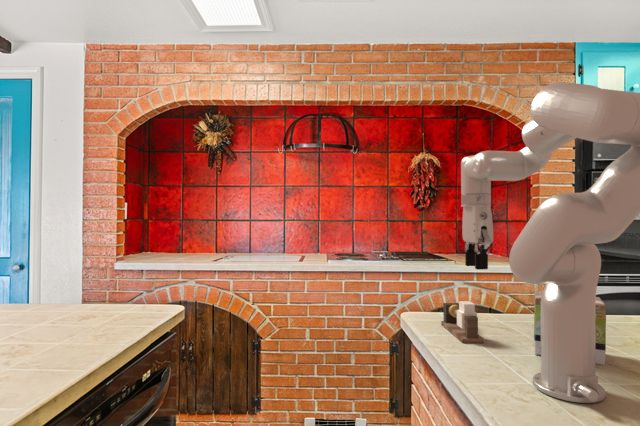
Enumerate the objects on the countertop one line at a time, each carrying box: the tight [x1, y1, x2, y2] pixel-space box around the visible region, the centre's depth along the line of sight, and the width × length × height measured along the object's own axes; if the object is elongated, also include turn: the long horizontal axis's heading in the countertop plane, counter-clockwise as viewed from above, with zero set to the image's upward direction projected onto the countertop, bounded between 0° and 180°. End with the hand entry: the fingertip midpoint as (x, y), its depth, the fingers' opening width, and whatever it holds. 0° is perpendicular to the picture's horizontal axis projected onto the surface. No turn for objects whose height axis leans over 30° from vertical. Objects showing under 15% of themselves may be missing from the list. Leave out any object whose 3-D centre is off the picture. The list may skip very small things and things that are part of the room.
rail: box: [441, 302, 485, 344], centre depth 120 cm, size 18×6×7 cm, turn 1°
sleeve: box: [457, 300, 478, 329], centre depth 115 cm, size 4×4×7 cm
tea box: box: [533, 291, 607, 366], centre depth 102 cm, size 15×10×15 cm, turn 62°
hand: (476, 266), depth 108 cm, fingers open, 5 cm apart
